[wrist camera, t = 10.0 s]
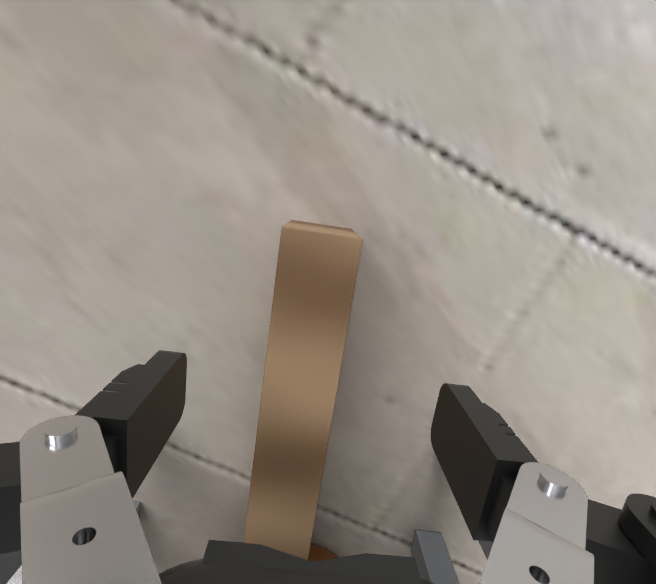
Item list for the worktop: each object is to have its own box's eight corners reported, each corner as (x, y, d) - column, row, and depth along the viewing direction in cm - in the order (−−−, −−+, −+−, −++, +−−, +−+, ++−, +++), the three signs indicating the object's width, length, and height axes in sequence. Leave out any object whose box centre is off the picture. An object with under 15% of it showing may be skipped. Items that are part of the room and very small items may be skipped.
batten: (292, 219, 19) (281, 227, 14) (350, 228, 19) (362, 239, 14) (253, 527, 24) (233, 624, 18) (301, 532, 24) (295, 629, 18)
